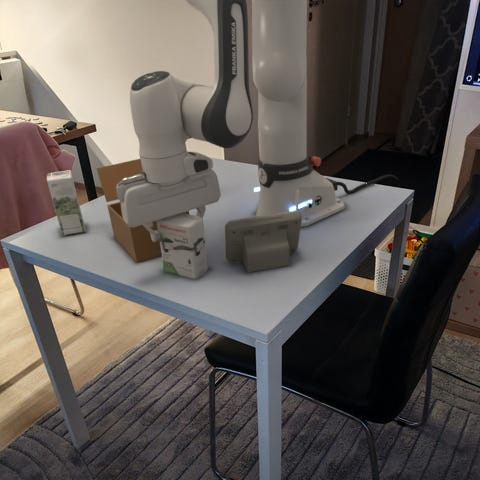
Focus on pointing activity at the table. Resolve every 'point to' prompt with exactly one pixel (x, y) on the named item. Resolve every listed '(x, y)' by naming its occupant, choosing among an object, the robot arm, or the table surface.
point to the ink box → (183, 245)
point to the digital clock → (263, 240)
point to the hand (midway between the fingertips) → (177, 233)
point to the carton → (134, 236)
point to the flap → (117, 176)
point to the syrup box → (66, 202)
